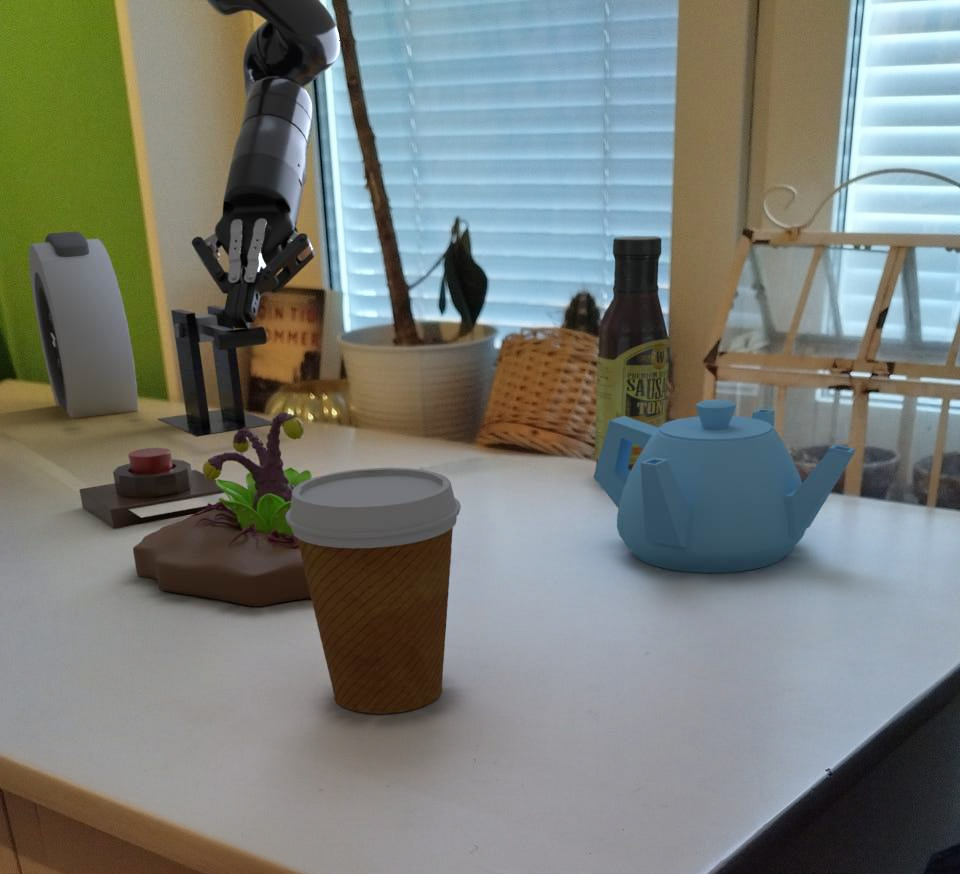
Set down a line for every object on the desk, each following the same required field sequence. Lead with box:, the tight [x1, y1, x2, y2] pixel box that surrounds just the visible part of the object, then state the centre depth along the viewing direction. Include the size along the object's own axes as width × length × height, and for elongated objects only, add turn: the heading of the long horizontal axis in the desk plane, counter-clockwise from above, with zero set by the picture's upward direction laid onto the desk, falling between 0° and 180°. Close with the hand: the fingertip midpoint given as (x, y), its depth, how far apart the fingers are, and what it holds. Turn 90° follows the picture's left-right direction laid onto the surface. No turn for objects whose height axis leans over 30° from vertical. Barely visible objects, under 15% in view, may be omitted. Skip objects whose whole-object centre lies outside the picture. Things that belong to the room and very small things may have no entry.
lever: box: [195, 312, 268, 350], centre depth 135 cm, size 12×5×2 cm, turn 32°
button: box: [128, 447, 173, 474], centre depth 115 cm, size 4×4×2 cm
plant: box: [132, 411, 312, 607], centre depth 98 cm, size 20×20×11 cm
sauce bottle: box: [594, 235, 671, 471], centre depth 115 cm, size 6×6×20 cm
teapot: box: [593, 398, 856, 574], centre depth 96 cm, size 15×15×11 cm
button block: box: [79, 458, 225, 530], centre depth 116 cm, size 11×9×4 cm
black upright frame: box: [157, 304, 273, 437], centre depth 140 cm, size 12×9×13 cm
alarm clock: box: [28, 230, 139, 419], centre depth 151 cm, size 21×8×20 cm, turn 23°
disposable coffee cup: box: [285, 467, 462, 715], centre depth 74 cm, size 10×10×12 cm
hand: (238, 322), depth 130 cm, fingers closed
